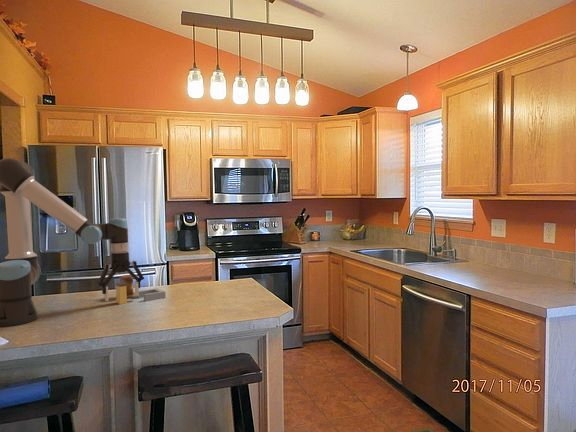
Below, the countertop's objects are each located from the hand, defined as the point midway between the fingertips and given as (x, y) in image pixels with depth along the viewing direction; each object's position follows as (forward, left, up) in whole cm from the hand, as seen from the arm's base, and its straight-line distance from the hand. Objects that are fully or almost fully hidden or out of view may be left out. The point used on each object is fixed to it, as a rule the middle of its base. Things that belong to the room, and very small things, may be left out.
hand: (122, 298), depth 191 cm
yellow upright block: (0, 0, -2) cm, 2 cm away
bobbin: (+7, +10, -2) cm, 12 cm away
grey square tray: (+14, 0, -2) cm, 14 cm away
